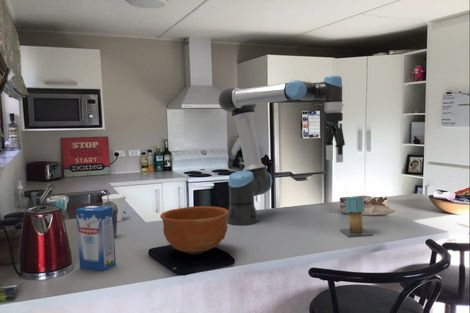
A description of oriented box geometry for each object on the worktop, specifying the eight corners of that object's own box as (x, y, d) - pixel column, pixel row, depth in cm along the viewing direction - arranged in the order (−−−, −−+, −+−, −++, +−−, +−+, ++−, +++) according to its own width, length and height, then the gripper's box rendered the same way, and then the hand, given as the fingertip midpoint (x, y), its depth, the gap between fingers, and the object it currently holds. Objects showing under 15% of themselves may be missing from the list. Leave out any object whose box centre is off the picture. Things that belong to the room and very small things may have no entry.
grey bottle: (103, 240, 166) (100, 193, 165) (100, 236, 173) (97, 190, 171) (121, 238, 170) (118, 191, 168) (117, 234, 176) (115, 189, 175)
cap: (349, 211, 169) (347, 197, 170) (365, 211, 166) (364, 196, 166) (345, 212, 163) (343, 197, 164) (362, 211, 160) (361, 196, 160)
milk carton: (79, 268, 135) (75, 209, 133) (92, 262, 140) (88, 205, 139) (104, 271, 131) (100, 210, 129) (116, 264, 137) (112, 206, 135)
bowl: (172, 269, 131) (169, 223, 130) (155, 248, 154) (153, 209, 152) (241, 256, 141) (239, 214, 139) (215, 239, 163) (214, 202, 162)
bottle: (348, 237, 159) (347, 205, 158) (339, 230, 169) (339, 201, 168) (372, 235, 160) (372, 204, 159) (362, 229, 170) (362, 200, 169)
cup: (130, 220, 201) (129, 196, 200) (107, 224, 194) (105, 199, 194) (123, 216, 211) (121, 193, 210) (100, 220, 204) (98, 196, 203)
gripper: (352, 110, 162) (353, 163, 164) (332, 112, 187) (333, 158, 189) (334, 111, 162) (335, 163, 163) (317, 113, 186) (317, 158, 188)
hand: (334, 160), depth 176 cm, fingers open, 13 cm apart
